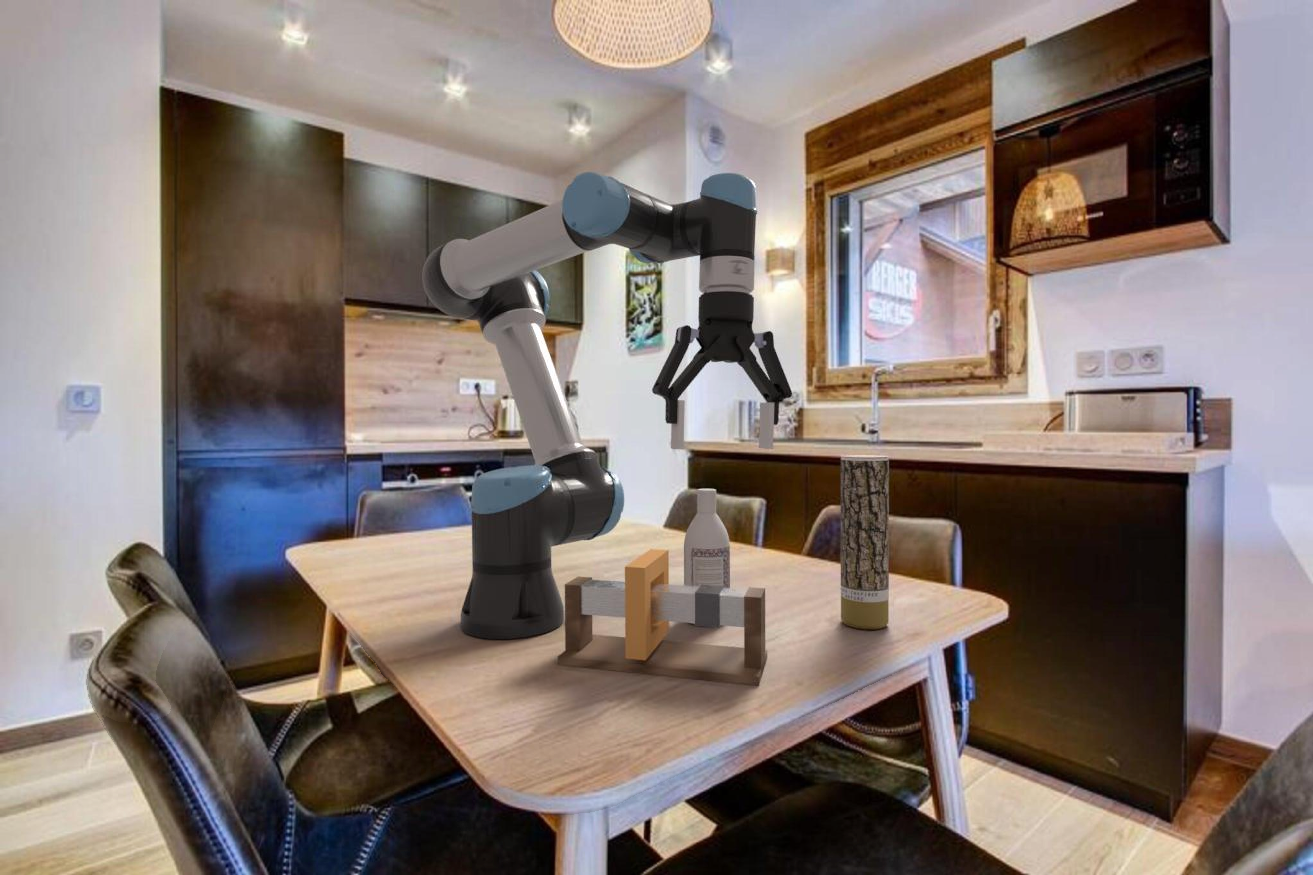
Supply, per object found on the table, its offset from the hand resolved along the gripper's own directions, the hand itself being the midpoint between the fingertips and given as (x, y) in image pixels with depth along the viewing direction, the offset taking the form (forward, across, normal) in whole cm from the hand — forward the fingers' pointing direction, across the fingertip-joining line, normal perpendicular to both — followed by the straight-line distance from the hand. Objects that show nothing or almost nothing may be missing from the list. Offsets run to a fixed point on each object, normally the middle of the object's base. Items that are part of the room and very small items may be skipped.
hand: (722, 448), depth 89 cm
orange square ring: (+25, -12, -4) cm, 28 cm away
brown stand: (+26, -10, -6) cm, 29 cm away
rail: (+21, -10, -5) cm, 24 cm away
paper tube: (+26, +23, -2) cm, 35 cm away
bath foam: (+27, +2, +8) cm, 28 cm away
